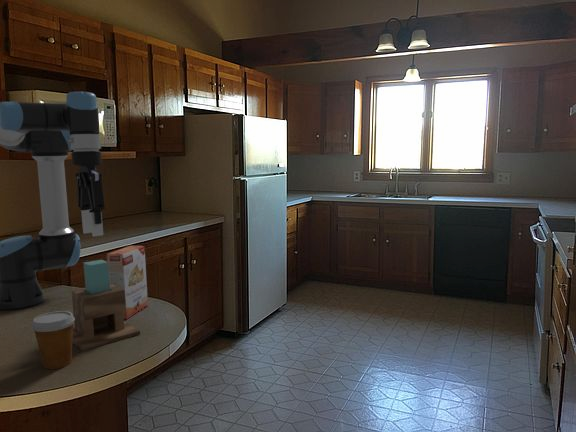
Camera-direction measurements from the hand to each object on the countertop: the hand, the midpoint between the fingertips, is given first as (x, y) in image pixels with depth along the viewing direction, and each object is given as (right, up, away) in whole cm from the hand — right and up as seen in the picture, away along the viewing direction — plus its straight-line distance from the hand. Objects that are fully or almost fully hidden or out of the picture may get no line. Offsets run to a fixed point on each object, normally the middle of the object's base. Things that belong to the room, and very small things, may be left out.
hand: (93, 234), depth 132 cm
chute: (+1, -29, +4) cm, 29 cm away
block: (+1, -20, +3) cm, 20 cm away
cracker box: (+3, -26, +23) cm, 35 cm away
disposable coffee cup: (-3, -32, -15) cm, 35 cm away
